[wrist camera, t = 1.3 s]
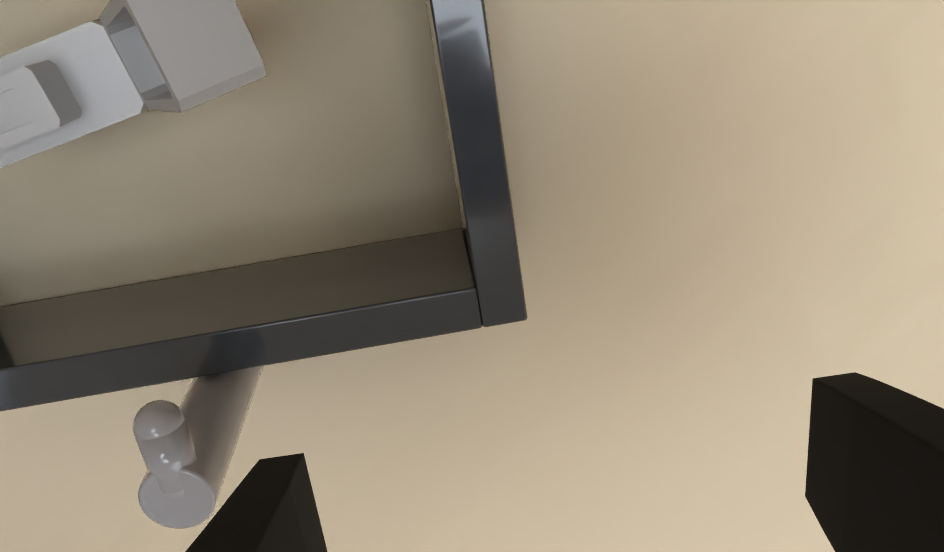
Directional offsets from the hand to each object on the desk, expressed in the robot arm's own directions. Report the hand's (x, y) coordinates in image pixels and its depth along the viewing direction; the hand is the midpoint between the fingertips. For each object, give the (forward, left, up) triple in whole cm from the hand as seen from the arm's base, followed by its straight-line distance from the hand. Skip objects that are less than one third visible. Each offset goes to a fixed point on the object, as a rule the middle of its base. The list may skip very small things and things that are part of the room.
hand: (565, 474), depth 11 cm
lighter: (-7, +6, -10) cm, 14 cm away
